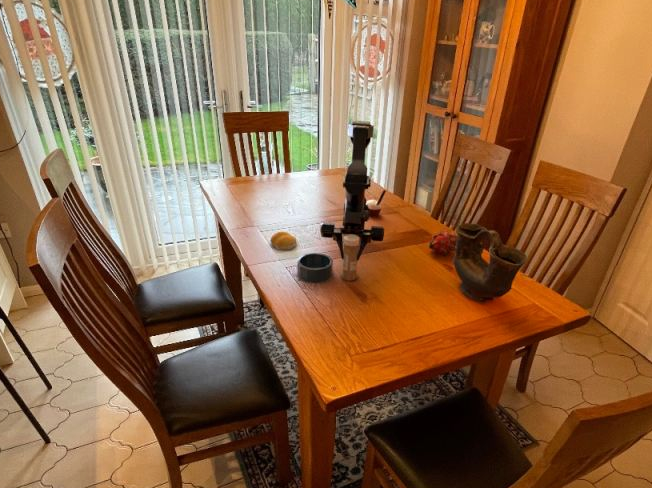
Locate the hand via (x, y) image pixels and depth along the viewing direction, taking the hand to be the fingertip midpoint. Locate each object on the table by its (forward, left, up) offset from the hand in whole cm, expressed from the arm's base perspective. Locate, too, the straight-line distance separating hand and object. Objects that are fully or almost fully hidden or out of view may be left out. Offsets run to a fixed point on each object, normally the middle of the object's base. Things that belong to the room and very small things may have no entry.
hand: (350, 259), depth 124 cm
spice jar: (-1, -1, -7) cm, 7 cm away
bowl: (+8, -7, -7) cm, 13 cm away
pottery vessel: (-33, +20, -7) cm, 39 cm away
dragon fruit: (-38, -5, -7) cm, 39 cm away
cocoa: (-31, -43, -7) cm, 54 cm away
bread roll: (+11, -29, -7) cm, 32 cm away
